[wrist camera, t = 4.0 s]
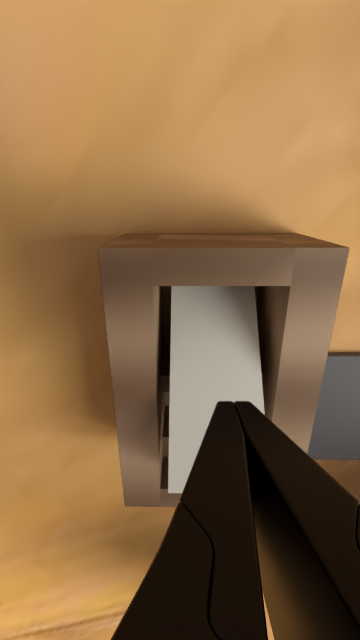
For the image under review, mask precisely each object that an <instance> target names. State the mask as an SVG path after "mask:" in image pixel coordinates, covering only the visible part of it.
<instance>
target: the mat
mask: <svg viewBox="0 0 360 640" xmlns="http://www.w3.org/2000/svg"><path fill="white" fill-rule="evenodd" d="M307 454H308V455H309V456H310V457H311V458H312V459H339V460H360V353H328V355H327V360H326V365H325V370H324V375H323V379H322V384H321V389H320V394H319V399H318V404H317V409H316V414H315V418H314V423H313V428H312V433H311V438H310V443H309V448H308V453H307Z"/></svg>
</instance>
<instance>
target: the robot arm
mask: <svg viewBox="0 0 360 640" xmlns="http://www.w3.org/2000/svg"><path fill="white" fill-rule="evenodd" d="M262 590H263V592H262ZM263 594H264V598H265V603H266V607H267V611H268V615H269V619H270V623H271V627H272V631H273V636H274V640H360V504H359V502H358V500H357V499H356V498H355V497H353V496H352V495H351V494H350V493H349V492H348V491H347V490H346V489H345V488H344V487H343V486H341V485H340V484H339V483H338V482H337V481H336V480H335V479H334V478H333V477H332V476H331V475H329V474H328V473H327V472H326V471H325V470H324V469H323V468H322V467H321V466H320V465H319V464H318V463H316V462H315V461H314V460H313V459H312V458H311V457H310V456H309V455H308V454H307V453H306V452H304V451H303V450H302V449H301V448H300V447H299V446H298V445H297V444H296V443H295V442H294V441H293V440H291V439H290V438H289V437H288V436H287V435H286V434H285V433H284V432H283V431H282V430H281V429H279V428H278V427H277V426H276V425H275V424H274V423H273V422H272V421H271V420H270V419H269V418H267V417H266V416H265V415H264V414H263V413H262V412H261V411H260V410H259V409H258V408H257V407H256V406H254V405H253V404H252V403H251V402H249V401H235V402H234V403H233V402H232V401H218V402H217V404H216V406H215V409H214V412H213V414H212V417H211V419H210V422H209V425H208V427H207V430H206V432H205V435H204V438H203V440H202V443H201V445H200V448H199V451H198V453H197V456H196V458H195V461H194V463H193V466H192V469H191V471H190V474H189V476H188V479H187V482H186V484H185V487H184V489H183V492H182V495H181V497H180V500H179V503H178V504H177V507H176V509H175V512H174V515H173V517H172V520H171V522H170V524H169V527H168V529H167V531H166V534H165V536H164V538H163V541H162V543H161V545H160V547H159V549H158V551H157V553H156V555H155V557H154V559H153V561H152V563H151V565H150V567H149V569H148V571H147V573H146V575H145V577H144V579H143V581H142V583H141V585H140V586H139V588H138V590H137V592H136V594H135V596H134V597H133V599H132V601H131V603H130V605H129V607H128V609H127V610H126V612H125V614H124V616H123V618H122V620H121V621H120V623H119V625H118V627H117V629H116V631H115V633H114V634H113V636H112V638H111V640H268V636H267V627H266V618H265V609H264V601H263Z"/></svg>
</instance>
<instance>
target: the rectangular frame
mask: <svg viewBox="0 0 360 640" xmlns="http://www.w3.org/2000/svg"><path fill="white" fill-rule="evenodd" d="M348 253H349V248H348V247H345V246H341V245H338V244H334V243H330V242H327V241H323V240H319V239H316V238H312V237H309V236H305V235H301V234H124V235H122V236H120V237H118V238H116V239H114V240H113V241H111V242H109V243H107V244H105V245H103V246H101V247H99V248H98V255H99V265H100V274H101V284H102V293H103V303H104V312H105V322H106V331H107V341H108V350H109V360H110V369H111V378H112V388H113V397H114V407H115V416H116V426H117V435H118V445H119V454H120V464H121V473H122V483H123V492H124V501H125V506H141V507H177V504H178V503H179V500H180V497H181V495H182V493H168V464H169V404H170V345H171V286H254V287H255V299H256V312H257V324H258V337H259V349H260V361H261V374H262V386H263V399H264V411H265V416H266V417H267V418H269V419H270V420H271V421H272V422H273V423H274V424H275V425H276V426H277V427H278V428H279V429H281V430H282V431H283V432H284V433H285V434H286V435H287V436H288V437H289V438H290V439H291V440H293V441H294V442H295V443H296V444H297V445H298V446H299V447H300V448H301V449H302V450H303V451H304V452H306V453H308V448H309V443H310V438H311V433H312V428H313V423H314V418H315V414H316V409H317V404H318V399H319V394H320V389H321V384H322V379H323V375H324V370H325V365H326V360H327V355H328V350H329V345H330V340H331V336H332V331H333V326H334V321H335V316H336V311H337V306H338V301H339V297H340V292H341V287H342V282H343V277H344V272H345V267H346V262H347V258H348Z"/></svg>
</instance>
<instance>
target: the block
mask: <svg viewBox="0 0 360 640" xmlns="http://www.w3.org/2000/svg"><path fill="white" fill-rule="evenodd" d="M218 401H232V402H233V403H234V402H235V401H249V402H251V403H252V404H253V405H254V406H256V407H257V408H258V409H259V410H260V411H261V412H262V413H263V414H264V415H265V411H264V399H263V386H262V374H261V361H260V349H259V337H258V324H257V312H256V299H255V287H254V286H171V345H170V404H169V464H168V493H182V492H183V489H184V487H185V484H186V482H187V479H188V476H189V474H190V471H191V469H192V466H193V463H194V461H195V458H196V456H197V453H198V451H199V448H200V445H201V443H202V440H203V438H204V435H205V432H206V430H207V427H208V425H209V422H210V419H211V417H212V414H213V412H214V409H215V406H216V404H217V402H218Z"/></svg>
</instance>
